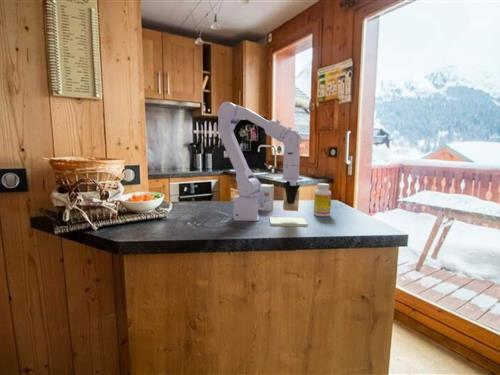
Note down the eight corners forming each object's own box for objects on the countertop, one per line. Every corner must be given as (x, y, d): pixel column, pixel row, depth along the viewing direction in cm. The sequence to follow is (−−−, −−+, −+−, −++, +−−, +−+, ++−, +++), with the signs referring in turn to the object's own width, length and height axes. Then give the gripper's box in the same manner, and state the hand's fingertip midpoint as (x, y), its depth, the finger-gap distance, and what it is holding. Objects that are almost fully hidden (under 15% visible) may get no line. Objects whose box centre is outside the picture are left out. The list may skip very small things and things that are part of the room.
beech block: (284, 210, 106) (285, 189, 104) (283, 208, 109) (284, 188, 108) (298, 211, 105) (299, 190, 104) (296, 208, 109) (297, 188, 108)
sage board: (270, 225, 104) (270, 223, 103) (269, 219, 112) (269, 217, 112) (307, 226, 103) (307, 224, 103) (303, 219, 112) (303, 217, 112)
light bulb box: (246, 209, 129) (246, 184, 128) (250, 206, 135) (251, 183, 134) (270, 211, 126) (270, 186, 124) (273, 208, 132) (274, 184, 131)
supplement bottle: (330, 217, 117) (332, 185, 115) (313, 216, 118) (315, 184, 116) (329, 213, 123) (331, 183, 121) (313, 212, 125) (314, 182, 123)
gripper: (306, 166, 98) (304, 206, 100) (299, 164, 112) (297, 199, 114) (284, 166, 98) (283, 206, 100) (280, 163, 112) (279, 198, 114)
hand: (289, 202), depth 107 cm, fingers closed on beech block, 3 cm apart
